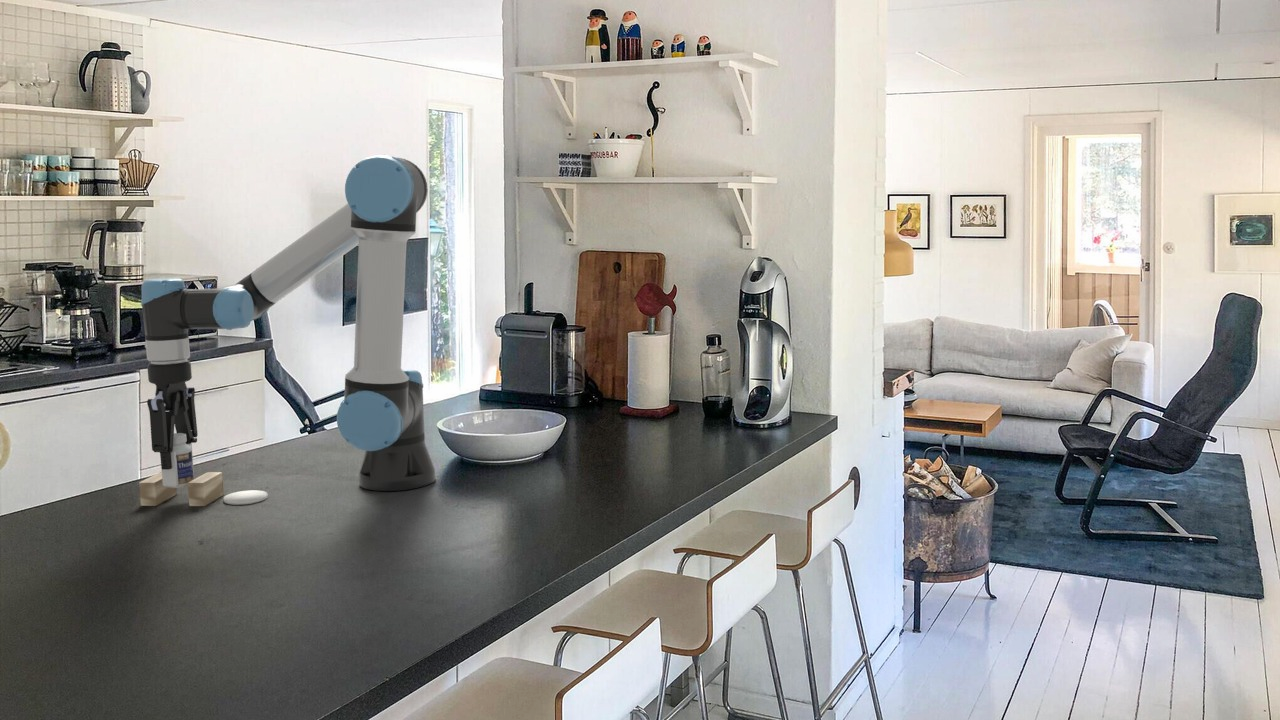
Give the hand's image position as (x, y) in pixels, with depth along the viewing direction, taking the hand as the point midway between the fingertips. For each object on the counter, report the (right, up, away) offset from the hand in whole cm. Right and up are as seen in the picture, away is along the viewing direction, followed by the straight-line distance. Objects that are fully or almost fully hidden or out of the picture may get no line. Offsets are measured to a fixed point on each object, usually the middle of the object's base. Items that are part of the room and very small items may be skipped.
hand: (178, 480), depth 206 cm
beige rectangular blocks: (0, -4, +2) cm, 4 cm away
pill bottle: (0, -1, 0) cm, 1 cm away
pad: (+12, -4, +2) cm, 13 cm away
